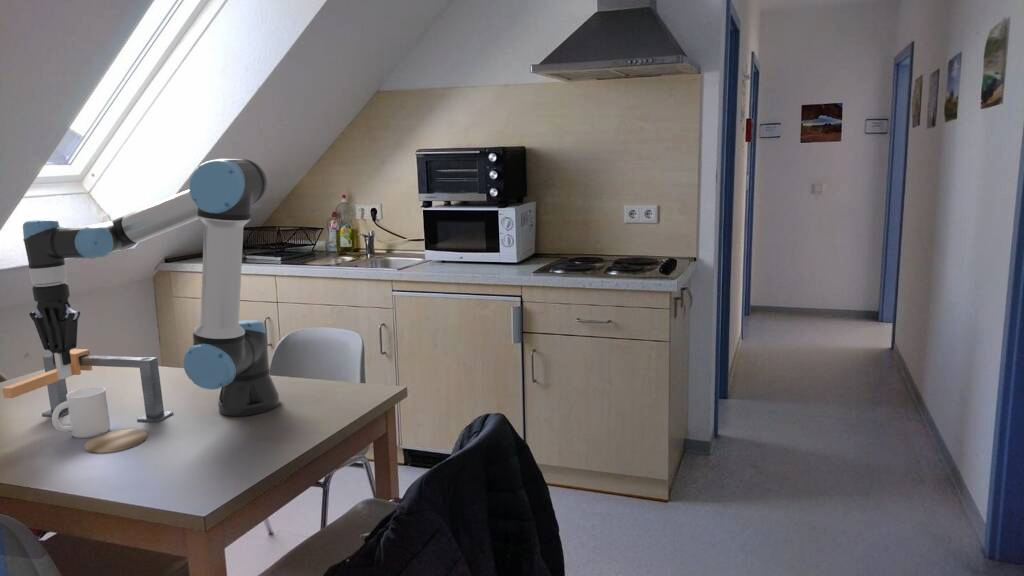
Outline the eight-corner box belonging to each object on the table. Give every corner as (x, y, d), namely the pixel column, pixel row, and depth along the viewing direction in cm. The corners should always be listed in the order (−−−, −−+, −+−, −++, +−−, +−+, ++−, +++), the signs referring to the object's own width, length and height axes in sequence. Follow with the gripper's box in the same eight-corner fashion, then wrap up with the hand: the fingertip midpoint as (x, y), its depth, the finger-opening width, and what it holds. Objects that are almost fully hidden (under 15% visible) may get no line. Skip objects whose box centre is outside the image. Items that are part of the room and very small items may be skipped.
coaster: (159, 433, 182) (158, 430, 182) (119, 454, 170) (119, 452, 170) (113, 430, 185) (112, 427, 185) (71, 451, 173) (71, 448, 173)
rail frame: (173, 414, 195) (166, 356, 192) (157, 422, 190) (150, 362, 187) (60, 407, 204) (52, 352, 201) (42, 415, 198) (33, 358, 195)
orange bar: (92, 369, 198) (89, 349, 197) (16, 398, 176) (13, 375, 175) (76, 369, 199) (73, 348, 198) (-1, 397, 177) (-5, 375, 176)
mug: (59, 446, 176) (52, 404, 174) (51, 437, 182) (44, 396, 180) (115, 431, 184) (109, 391, 182) (105, 423, 190) (99, 384, 188)
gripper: (84, 280, 185) (98, 373, 190) (40, 280, 188) (55, 372, 193) (59, 286, 178) (74, 382, 182) (14, 286, 181) (30, 381, 186)
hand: (64, 377), depth 188 cm, fingers closed
